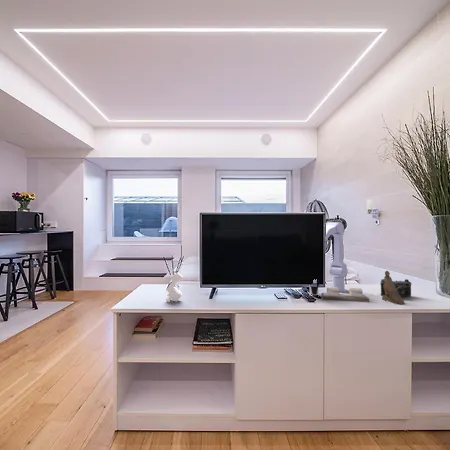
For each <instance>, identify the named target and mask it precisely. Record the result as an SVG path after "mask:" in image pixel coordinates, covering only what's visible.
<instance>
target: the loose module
mask: <svg viewBox="0 0 450 450" xmlns="http://www.w3.org/2000/svg"><path fill="white" fill-rule="evenodd" d="M310 294H312V289H311V287H310V286H309V295H310ZM312 295H313V294H312ZM316 295H318V296H319V288H318V289H317V294H316Z"/></svg>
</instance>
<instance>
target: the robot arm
mask: <svg viewBox="0 0 450 450" xmlns="http://www.w3.org/2000/svg"><path fill="white" fill-rule="evenodd" d="M325 224H326V241H328V239H329V237H330V236H331V235H332V237H334V238H333V260H332V262H331V263H330V267H329V274H330V275H331V278H332V281H331V282H332V287H338V289H339V293H340V292H341V293H342V292H343V293H344V292H345V293H347V290H346V289H345V287H346V286H345V284H346V282H345V280H346V279H345V278H346V277H347V276H348V267H347V266H348V265H347V264H346V263H345V261H343V259H344V256H343V255H344V251H343V250H344V234H345V232H344V231H345V230H344V229H345V228H344V227H345V225H344V224H343V223H342V222H341V221H340V222H339V221H337V222H333V221H332V222H330V221H328V222H326V223H325ZM317 283H319V284H317ZM312 284H317V287H311V289H312V294H313V295H316V294H317V289H318V290H319V286H320V282H317V279H316V280H315V279H314V280H313V283H312Z"/></svg>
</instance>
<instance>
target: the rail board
mask: <svg viewBox="0 0 450 450" xmlns="http://www.w3.org/2000/svg"><path fill="white" fill-rule="evenodd" d="M348 289H349V290H348V293H340V292H339V289H338V287H331V286H326V292H321V297H323V298H322V299H324V301H325V300H326V301H330V300H331V301H343V302H344V301H346V302H347V301H349V302H350V301H351V302H370V299H369V297H368V296H367V295H366V294H363V289H362V288H359V287H349V288H348Z"/></svg>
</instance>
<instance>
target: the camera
mask: <svg viewBox="0 0 450 450" xmlns="http://www.w3.org/2000/svg"><path fill="white" fill-rule="evenodd" d="M392 281H393V284H394V285H395V287H396V289H397V291H398V293H399V295H400V296H401V298H405V297H412V281H410V280H409V279H406V278H405V279H404V280H392ZM384 283H385V279H384V278H383V279H381V280H380V296H381V297H383V296H386V295H385V290H384V287H383V285H384Z"/></svg>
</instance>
